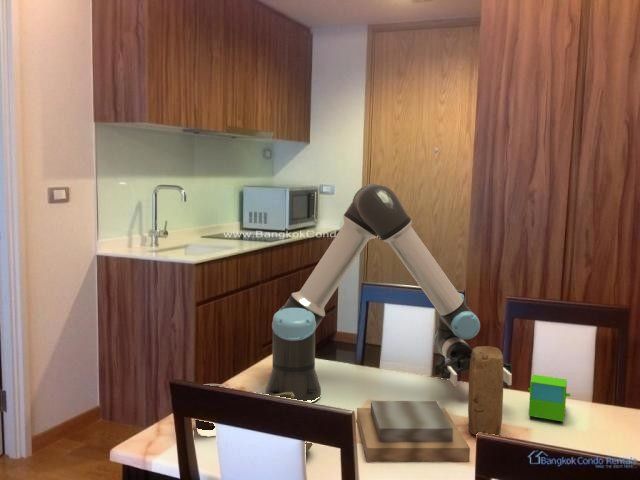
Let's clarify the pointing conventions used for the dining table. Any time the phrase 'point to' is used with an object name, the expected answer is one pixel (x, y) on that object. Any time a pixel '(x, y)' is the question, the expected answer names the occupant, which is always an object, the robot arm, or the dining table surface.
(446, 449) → the tower base
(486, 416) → the block
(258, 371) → the dining table surface
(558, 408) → the toy car
